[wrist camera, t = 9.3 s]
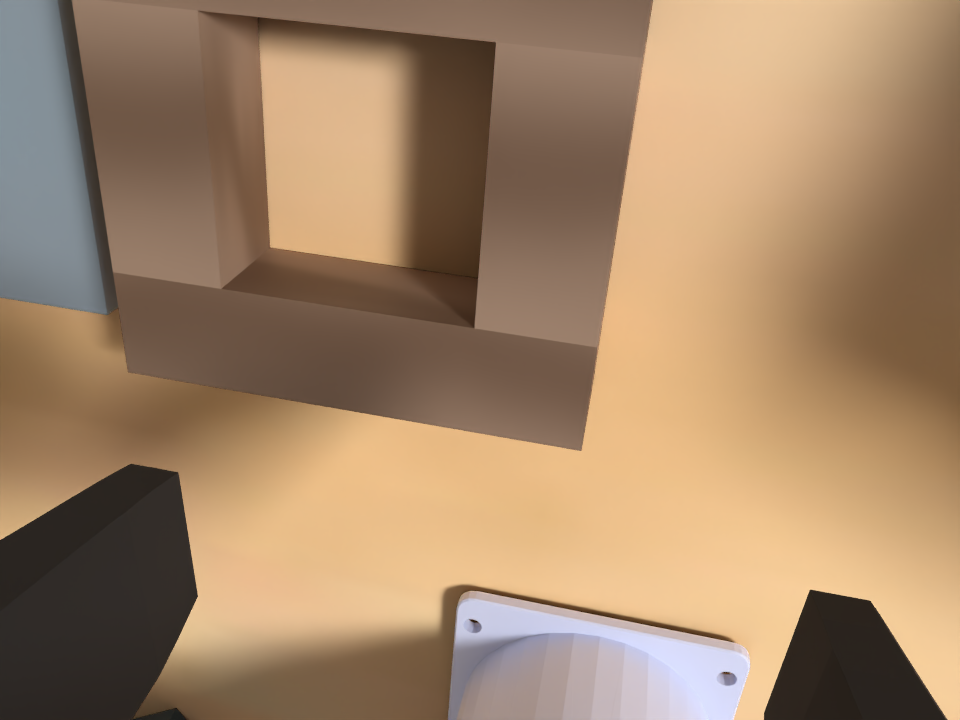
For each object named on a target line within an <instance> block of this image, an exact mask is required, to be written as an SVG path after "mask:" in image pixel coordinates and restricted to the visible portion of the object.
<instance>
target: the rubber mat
mask: <svg viewBox="0 0 960 720" xmlns="http://www.w3.org/2000/svg"><path fill="white" fill-rule="evenodd" d="M0 297H1V298H7V299H13V300H19V301H25V302H31V303H37V304H43V305H50V306H56V307H62V308H68V309H74V310H80V311H86V312H92V313H98V314H105V315H108V314H110V313H111V312H112V311H114V310H115V309H117V308H118V302H117V295H116V289H115V282H114V276H113V269H112V262H111V256H110V249H109V242H108V236H107V229H106V223H105V216H104V209H103V203H102V196H101V190H100V183H99V176H98V170H97V163H96V156H95V150H94V143H93V137H92V130H91V123H90V117H89V110H88V104H87V97H86V90H85V84H84V77H83V70H82V64H81V57H80V51H79V44H78V37H77V31H76V24H75V18H74V11H73V4H72V0H0Z"/></svg>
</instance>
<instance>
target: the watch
mask: <svg viewBox="0 0 960 720" xmlns="http://www.w3.org/2000/svg"><path fill="white" fill-rule="evenodd" d="M132 720H186V719H185V718H184V716H183V715H182V714H181V713H180V712H179V711H178V710H177V708H175V709H171V710H167V711H164V712H160V713H156V714H152V715H148V716H144V717H140V718H136V719H132Z"/></svg>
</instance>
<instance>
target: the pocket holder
mask: <svg viewBox="0 0 960 720" xmlns="http://www.w3.org/2000/svg"><path fill="white" fill-rule="evenodd" d="M652 3H653V0H72V4H73V11H74V18H75V24H76V31H77V37H78V44H79V51H80V57H81V64H82V70H83V77H84V84H85V90H86V97H87V104H88V110H89V117H90V123H91V130H92V137H93V143H94V150H95V156H96V163H97V170H98V176H99V183H100V190H101V196H102V203H103V209H104V216H105V223H106V229H107V236H108V242H109V249H110V256H111V262H112V269H113V276H114V282H115V289H116V295H117V302H118V309H119V315H120V322H121V328H122V335H123V342H124V348H125V355H126V361H127V368H128V372H130V373H135V374H141V375H147V376H153V377H158V378H164V379H170V380H176V381H181V382H187V383H193V384H199V385H204V386H210V387H216V388H222V389H228V390H233V391H239V392H245V393H251V394H256V395H262V396H268V397H274V398H279V399H285V400H291V401H297V402H302V403H308V404H314V405H320V406H325V407H331V408H337V409H343V410H349V411H354V412H360V413H366V414H372V415H377V416H383V417H389V418H395V419H400V420H406V421H412V422H418V423H423V424H429V425H435V426H441V427H446V428H452V429H458V430H464V431H470V432H475V433H481V434H487V435H493V436H498V437H504V438H510V439H516V440H521V441H527V442H533V443H539V444H544V445H550V446H556V447H562V448H567V449H573V450H579V451H581V450H582V444H583V438H584V432H585V426H586V421H587V415H588V409H589V403H590V397H591V392H592V385H593V379H594V372H595V366H596V360H597V353H598V347H599V341H600V334H601V328H602V322H603V315H604V309H605V302H606V296H607V290H608V283H609V277H610V271H611V264H612V258H613V252H614V245H615V239H616V232H617V226H618V220H619V213H620V207H621V201H622V194H623V188H624V182H625V175H626V169H627V162H628V156H629V150H630V143H631V137H632V131H633V124H634V118H635V112H636V105H637V99H638V93H639V86H640V80H641V73H642V67H643V61H644V54H645V48H646V42H647V35H648V29H649V23H650V16H651V10H652ZM258 17H263V18H272V19H282V20H291V21H301V22H310V23H319V24H329V25H338V26H348V27H357V28H366V29H376V30H385V31H395V32H404V33H414V34H423V35H432V36H442V37H451V38H461V39H470V40H479V41H489V42H496V50H495V63H494V77H493V90H492V103H491V116H490V130H489V143H488V156H487V169H486V183H485V196H484V209H483V222H482V235H481V249H480V262H479V275H478V278H471V277H464V276H458V275H451V274H444V273H437V272H430V271H424V270H417V269H410V268H403V267H396V266H390V265H383V264H376V263H369V262H362V261H356V260H349V259H342V258H335V257H328V256H322V255H315V254H308V253H301V252H294V251H288V250H281V249H274V248H270V240H269V221H268V202H267V183H266V164H265V146H264V127H263V108H262V89H261V70H260V51H259V33H258Z"/></svg>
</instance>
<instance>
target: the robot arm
mask: <svg viewBox="0 0 960 720" xmlns="http://www.w3.org/2000/svg"><path fill="white" fill-rule="evenodd" d="M197 597H198V595H197V588H196V582H195V575H194V569H193V563H192V556H191V550H190V544H189V537H188V531H187V524H186V518H185V512H184V505H183V499H182V493H181V486H180V480H179V474H178V472H173V471H167V470H162V469H157V468H151V467H146V466H140V465H135V464H129V465H128V466H126V467H124V468H122V469H120V470H118V471H117V472H115V473H113V474H111V475H109V476H108V477H106V478H104V479H102V480H101V481H99V482H97V483H96V484H94V485H92V486H90V487H89V488H87V489H85V490H84V491H82V492H80V493H79V494H77V495H75V496H74V497H72V498H70V499H69V500H67V501H65V502H64V503H62V504H60V505H59V506H57V507H55V508H54V509H52V510H50V511H49V512H47V513H45V514H44V515H42V516H40V517H39V518H37V519H35V520H34V521H32V522H30V523H29V524H27V525H25V526H24V527H22V528H20V529H18V530H17V531H15V532H13V533H12V534H10V535H8V536H7V537H5V538H3V539H1V540H0V720H132V718H133V717H134V715H135V713H136V712H137V710H138V709H139V707H140V706H141V704H142V702H143V701H144V699H145V698H146V696H147V695H148V693H149V691H150V690H151V688H152V687H153V685H154V683H155V682H156V680H157V679H158V677H159V675H160V673H161V672H162V670H163V668H164V666H165V664H166V662H167V660H168V658H169V656H170V654H171V652H172V650H173V648H174V646H175V644H176V642H177V640H178V638H179V635H180V633H181V631H182V629H183V627H184V625H185V623H186V620H187V618H188V616H189V614H190V612H191V610H192V608H193V605H194V603H195V601H196V599H197ZM469 619H474V620H476V621H478V622H479V623H474V622H472V621H470V620H469ZM749 670H750V658H749V653H748V651H747V649H745V648H744V647H743V646H742V645H739V644H737V643H734V642H729V641H724V640H719V639H714V638H709V637H704V636H699V635H694V634H689V633H684V632H679V631H674V630H669V629H664V628H659V627H654V626H649V625H644V624H639V623H634V622H629V621H624V620H619V619H614V618H609V617H604V616H599V615H594V614H589V613H584V612H579V611H574V610H569V609H564V608H559V607H554V606H549V605H544V604H539V603H534V602H529V601H524V600H519V599H514V598H509V597H504V596H499V595H494V594H489V593H484V592H479V591H468V592H465V593H464V594H462V595H461V596H460V599H459V602H458V605H457V609H456V621H455V634H454V647H453V660H452V673H451V685H450V698H449V711H448V720H733V719H734V716H735V713H736V710H737V707H738V704H739V700H740V697H741V694H742V691H743V688H744V685H745V682H746V679H747V676H748V673H749ZM722 672H730V673H731V674H722ZM764 720H947V719H946V717H945V715H944V714H943V712H942V711H941V709H940V708H939V706H938V705H937V703H936V702H935V700H934V699H933V697H932V696H931V694H930V692H929V691H928V689H927V688H926V686H925V685H924V683H923V682H922V680H921V679H920V677H919V675H918V674H917V672H916V671H915V669H914V668H913V666H912V664H911V663H910V661H909V660H908V658H907V657H906V655H905V653H904V652H903V650H902V649H901V647H900V646H899V644H898V642H897V641H896V639H895V638H894V636H893V635H892V633H891V631H890V630H889V628H888V627H887V625H886V624H885V622H884V620H883V619H882V617H881V616H880V614H879V613H878V611H877V610H876V608H875V607H874V606H873V604H872V603H871V601H868V600H863V599H858V598H852V597H847V596H842V595H836V594H831V593H825V592H820V591H815V590H810V591H809V594H808V597H807V599H806V602H805V605H804V607H803V610H802V613H801V615H800V618H799V621H798V623H797V626H796V629H795V632H794V634H793V637H792V640H791V642H790V645H789V648H788V650H787V653H786V656H785V658H784V661H783V664H782V666H781V669H780V672H779V674H778V677H777V680H776V683H775V685H774V688H773V691H772V693H771V696H770V699H769V701H768V704H767V707H766V709H765V712H764Z"/></svg>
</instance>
